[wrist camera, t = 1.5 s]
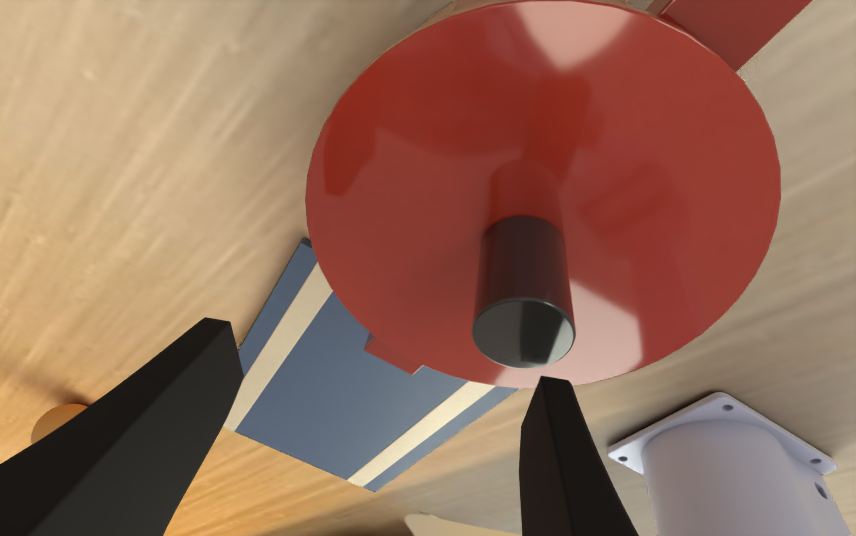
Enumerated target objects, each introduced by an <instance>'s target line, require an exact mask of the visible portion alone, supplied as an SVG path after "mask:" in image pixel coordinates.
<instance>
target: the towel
mask: <svg viewBox="0 0 856 536" xmlns="http://www.w3.org/2000/svg"><path fill="white" fill-rule="evenodd" d="M369 333H370V332H369V331H368V330H367V329H366V328H365V327H364V326H362V325H361V324H360V323H359V322H358V321H357V320H356V319H355V318H354V317H353V316H352V314H351V313H350V312H349V311H348V310H347V309H346V308H345V307H344V306H343V304H342V303H341V301H340V300H339V299H338V297H337V296H336V294H335V293H334V292H333V290H332V289H331V287H330V285H329V284H328V282H327V280H326V278H325V276H324V274H323V272H322V271H321V269H320V266H319V264H318V261H317V258H316V256H315V253H314V251H313V248H312V244H311V242H310V241H309V240H307V239H305V238H303V239H302V241H301V242H300V244H299V246H298V248H297V249H296V251H295V253H294V255H293V256H292V258H291V260H290V262H289V263H288V265H287V267H286V269H285V270H284V272H283V274H282V276H281V277H280V279H279V281H278V283H277V284H276V286H275V288H274V290H273V291H272V293H271V295H270V297H269V298H268V300H267V302H266V303H265V305H264V307H263V309H262V310H261V312H260V314H259V316H258V317H257V319H256V321H255V323H254V324H253V326H252V328H251V330H250V331H249V333H248V335H247V337H246V338H245V340H244V342H243V344H242V345H241V347H240V349H239V351H238V354H239V358H240V362H241V366H242V370H243V374H244V378H243V381H242V383H241V386H240V389H239V391H238V394H237V396H236V399H235V401H234V403H233V406H232V408H231V410H230V413H229V415H228V417H227V419H226V421H225V423H224V425H223V427H224V428H226V429H228V430H231V431H233V432H237V433H239V434H241V435H243V436H246V437H248V438H250V439H253V440H255V441H257V442H260V443H262V444H264V445H266V446H269V447H271V448H273V449H276V450H278V451H280V452H283V453H285V454H287V455H290V456H292V457H294V458H296V459H299V460H301V461H303V462H306V463H308V464H310V465H313V466H315V467H317V468H320V469H322V470H324V471H326V472H329V473H331V474H333V475H336V476H338V477H340V478H343V479H345V480H346V481H348V482H351V483H353V484H355V485H358V486H360V487H363V488H366V489H368V490H370V491H373V492H376V491H377V490H379V489H380V488H382V487H383V486H384V485H386V484H387V483H389V482H390V481H391V480H393V479H394V478H396V477H397V476H398V475H400V474H401V473H403V472H404V471H405V470H407V469H408V468H409V467H411V466H412V465H414V464H415V463H416V462H418V461H419V460H421V459H422V458H423V457H425V456H426V455H428V454H429V453H430V452H432V451H433V450H435V449H436V448H437V447H439V446H440V445H441V444H443V443H444V442H446V441H447V440H448V439H450V438H451V437H453V436H454V435H455V434H457V433H458V432H460V431H461V430H462V429H464V428H465V427H467V426H468V425H469V424H471V423H472V422H474V421H475V420H476V419H478V418H479V417H480V416H482V415H483V414H485V413H486V412H487V411H489V410H490V409H492V408H493V407H494V406H496V405H497V404H499V403H500V402H501V401H503V400H504V399H506V398H507V397H508V396H510V395H511V394H513V393H514V392H515V391H517V390H518V389H519V388H512V387H501V386H493V385H487V384H482V383H476V382H471V381H468V380H464V379H460V378H456V377H453V376H449V375H447V374H444V373H441V372H438V371H436V370H433V369H430V368H428V367H426V366H424V365H423V366H422V367H421V368H420V369H419V370H418V371H417V372H416V373H415V374H414V375H411V374H409V373H407V372H405V371H403V370H401V369H399V368H397V367H395V366H393V365H391V364H390V363H388V362H386V361H384V360H382V359H380V358H378V357H376V356H374V355H372V354H370V353H368V352H366V351H364V347H365V344H366V341H367V338H368V335H369Z"/></svg>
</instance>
